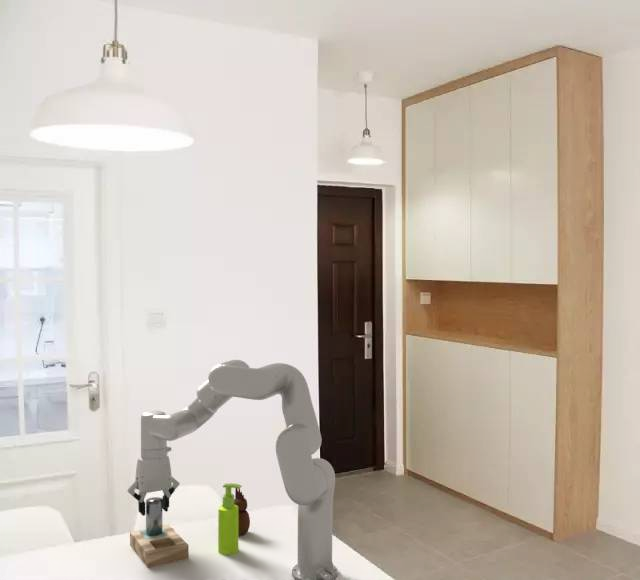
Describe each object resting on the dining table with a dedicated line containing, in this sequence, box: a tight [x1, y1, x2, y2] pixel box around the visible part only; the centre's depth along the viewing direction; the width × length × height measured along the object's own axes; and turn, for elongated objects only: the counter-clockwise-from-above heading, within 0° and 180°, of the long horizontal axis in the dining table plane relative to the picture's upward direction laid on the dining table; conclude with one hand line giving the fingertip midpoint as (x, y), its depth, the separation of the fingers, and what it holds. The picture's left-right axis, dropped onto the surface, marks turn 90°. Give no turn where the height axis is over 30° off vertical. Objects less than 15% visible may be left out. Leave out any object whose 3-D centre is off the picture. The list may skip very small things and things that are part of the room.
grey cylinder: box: [145, 496, 163, 536], centre depth 207 cm, size 5×5×10 cm
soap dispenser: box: [217, 483, 243, 556], centre depth 204 cm, size 6×7×20 cm
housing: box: [129, 524, 189, 568], centre depth 204 cm, size 18×12×4 cm, turn 30°
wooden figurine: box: [234, 488, 251, 537], centre depth 218 cm, size 7×6×15 cm
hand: (154, 511), depth 207 cm, fingers open, 6 cm apart
